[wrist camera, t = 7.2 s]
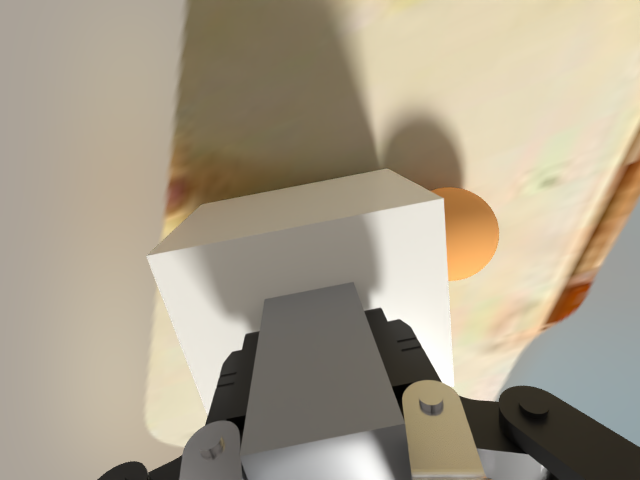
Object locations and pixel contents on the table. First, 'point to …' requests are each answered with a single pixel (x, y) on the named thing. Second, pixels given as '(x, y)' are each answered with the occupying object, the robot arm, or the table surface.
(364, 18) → the table surface
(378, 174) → the white block
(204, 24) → the table surface
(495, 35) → the table surface
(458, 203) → the ball
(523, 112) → the table surface
